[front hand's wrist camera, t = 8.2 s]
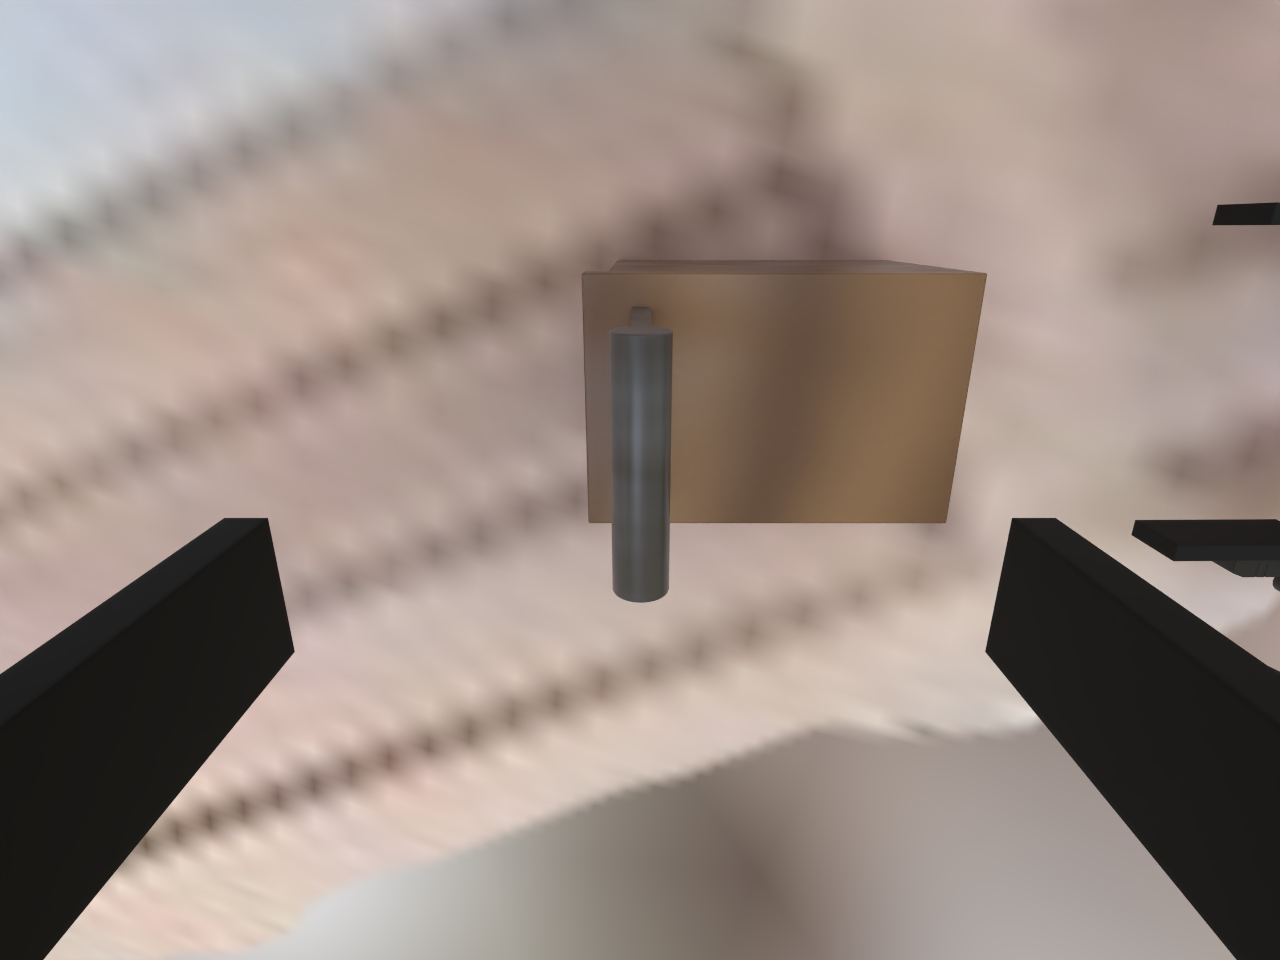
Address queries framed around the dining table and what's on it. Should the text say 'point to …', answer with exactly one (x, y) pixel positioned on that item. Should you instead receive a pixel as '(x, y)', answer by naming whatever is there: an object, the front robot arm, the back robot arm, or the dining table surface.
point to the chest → (772, 266)
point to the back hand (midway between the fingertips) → (1193, 390)
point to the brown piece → (770, 401)
